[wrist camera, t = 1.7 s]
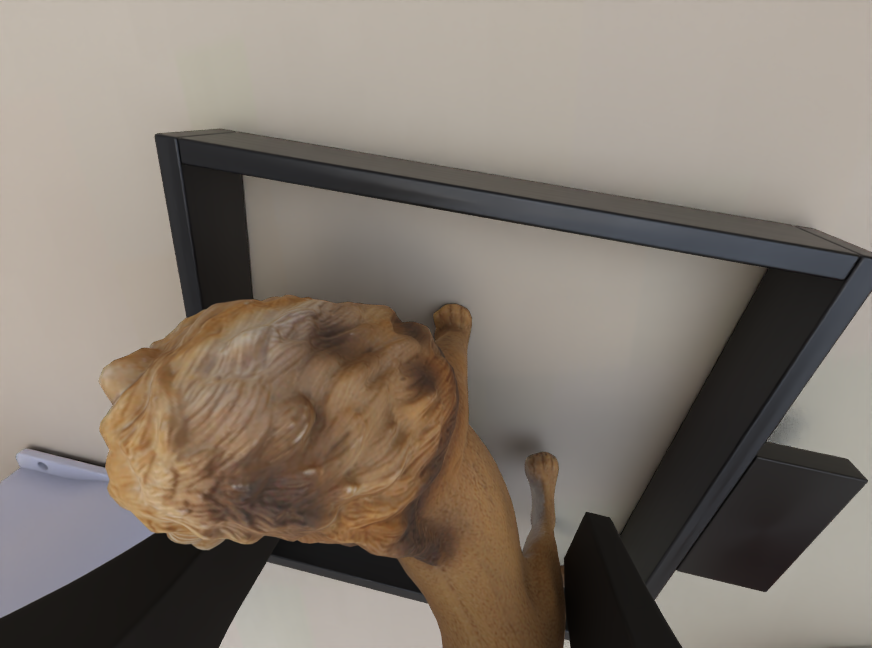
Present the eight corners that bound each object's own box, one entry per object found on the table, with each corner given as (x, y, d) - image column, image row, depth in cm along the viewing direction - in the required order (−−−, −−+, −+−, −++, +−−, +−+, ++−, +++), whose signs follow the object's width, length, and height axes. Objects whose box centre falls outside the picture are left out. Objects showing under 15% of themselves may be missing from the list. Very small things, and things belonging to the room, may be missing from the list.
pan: (259, 502, 20) (227, 552, 17) (219, 128, 12) (152, 133, 10) (670, 604, 18) (692, 673, 16) (936, 248, 10) (1049, 287, 8)
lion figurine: (279, 297, 14) (-53, 472, 6) (396, 200, 12) (163, 251, 4) (520, 587, 17) (531, 997, 8) (646, 539, 15) (818, 999, 7)
